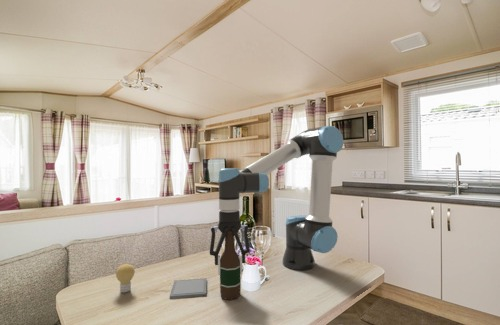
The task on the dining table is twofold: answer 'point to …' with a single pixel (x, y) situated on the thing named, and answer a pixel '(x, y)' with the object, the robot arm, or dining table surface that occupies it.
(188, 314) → the dining table surface
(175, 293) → the plate
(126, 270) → the light bulb
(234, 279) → the beer bottle
